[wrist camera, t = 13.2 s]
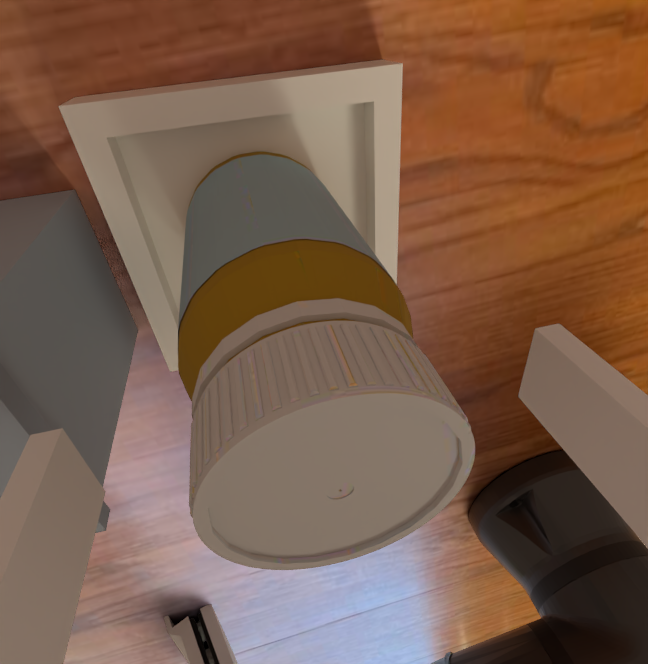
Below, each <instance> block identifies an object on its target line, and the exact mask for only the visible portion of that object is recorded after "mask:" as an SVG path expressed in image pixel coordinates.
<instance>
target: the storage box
mask: <svg viewBox="0 0 648 664" xmlns="http://www.w3.org/2000/svg"><path fill="white" fill-rule="evenodd" d="M137 333H138V329H137V327H136V325H135V323H134V320H133V318H132V316H131V314H130V311H129V309H128V307H127V305H126V302H125V300H124V298H123V296H122V294H121V291H120V289H119V287H118V285H117V282H116V280H115V278H114V276H113V273H112V271H111V269H110V267H109V265H108V262H107V260H106V258H105V256H104V253H103V251H102V249H101V247H100V244H99V242H98V240H97V238H96V236H95V233H94V231H93V229H92V227H91V224H90V222H89V220H88V218H87V215H86V213H85V211H84V209H83V207H82V204H81V202H80V200H79V198H78V195H77V193H76V191H75V190H69V191H62V192H55V193H48V194H42V195H35V196H28V197H22V198H15V199H8V200H1V201H0V498H1V496H2V494H3V492H4V490H5V488H6V485H7V483H8V481H9V479H10V477H11V475H12V473H13V471H14V469H15V466H16V464H17V462H18V460H19V458H20V456H21V454H22V452H23V450H24V448H25V445H26V443H27V441H28V439H29V437H30V435H32V434H37V433H42V432H47V431H51V430H56V429H61V428H63V430H64V431H65V433H66V434H67V436H68V437H69V439H70V440H71V441H72V443H73V444H74V446H75V447H76V449H77V450H78V452H79V453H80V455H81V456H82V458H83V459H84V461H85V462H86V464H87V465H88V467H89V468H90V469H91V471H92V472H93V474H94V475H95V477H96V478H97V480H98V481H99V483H100V484H101V486H102V487H103V483H104V479H105V474H106V470H107V465H108V461H109V457H110V452H111V448H112V443H113V439H114V435H115V430H116V426H117V421H118V417H119V412H120V408H121V404H122V399H123V395H124V390H125V386H126V381H127V377H128V373H129V368H130V364H131V359H132V355H133V351H134V346H135V342H136V337H137ZM109 512H110V509H109V507H108V506H107V505H106V503H105V502H104V501H103V504H102V508H101V512H100V516H99V520H98V524H97V528H96V532H95V533H98V532H102V531H106V527H107V522H108V517H109Z"/></svg>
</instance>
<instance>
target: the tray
mask: <svg viewBox="0 0 648 664" xmlns="http://www.w3.org/2000/svg"><path fill="white" fill-rule="evenodd" d="M402 69H403V63H398V62H393V61H388V60H383V59H382V60H374V61H366V62H358V63H349V64H341V65H333V66H325V67H317V68H309V69H300V70H292V71H284V72H276V73H268V74H260V75H251V76H243V77H235V78H227V79H219V80H211V81H202V82H194V83H186V84H178V85H170V86H162V87H153V88H145V89H137V90H129V91H121V92H113V93H104V94H96V95H88V96H80V97H74V98H72V99H71V100H69V101H67V102H65V103H63V104H61V105H60V106H58V107H59V109H60V112H61V114H62V116H63V119H64V121H65V123H66V126H67V128H68V131H69V133H70V135H71V138H72V140H73V142H74V145H75V147H76V150H77V152H78V154H79V157H80V159H81V161H82V164H83V166H84V169H85V171H86V173H87V176H88V178H89V180H90V183H91V185H92V188H93V190H94V192H95V195H96V197H97V199H98V202H99V204H100V207H101V209H102V211H103V214H104V216H105V218H106V221H107V223H108V226H109V228H110V230H111V233H112V235H113V237H114V240H115V242H116V245H117V247H118V249H119V252H120V254H121V256H122V259H123V261H124V264H125V266H126V268H127V271H128V273H129V275H130V278H131V280H132V282H133V285H134V287H135V290H136V292H137V294H138V297H139V299H140V301H141V304H142V306H143V309H144V311H145V313H146V316H147V318H148V320H149V323H150V325H151V328H152V330H153V332H154V335H155V337H156V339H157V342H158V344H159V347H160V349H161V351H162V354H163V356H164V358H165V361H166V363H167V366H168V368H169V370H170V372H172V371H177V370H179V369H178V325H179V311H180V297H181V283H182V269H183V255H184V242H185V228H186V216H187V211H188V207H189V203H190V201H191V198H192V196H193V193H194V191H195V189H196V187H197V185H198V184H199V182H200V181H201V180H202V179H203V178H204V177H205V176H206V175H207V174H208V172H209V171H210V170H211V169H212V168H214V167H215V166H216V165H218V164H220V163H222V162H224V161H226V160H227V159H229V158H231V157H233V156H236V155H239V154H245V153H251V152H257V151H264V152H270V153H276V154H282V155H285V156H288V157H290V158H292V159H294V160H296V161H297V162H299V163H301V164H303V165H305V166H306V167H307V168H309V169H310V170H311V171H312V173H313V174H314V175H315V176H316V177H317V178H318V179H319V180H320V181H321V182H322V183H323V184H324V186H325V187H326V188H327V190H328V191H329V192H330V194H331V195H332V196H333V198H334V199H335V201H336V202H337V203H338V205H339V206H340V207H341V209H342V210H343V211H344V213H345V214H346V216H347V217H348V218H349V220H350V221H351V222H352V224H353V225H354V226H355V228H356V229H357V231H358V232H359V233H360V235H361V236H362V237H363V239H364V240H365V242H366V243H367V244H368V246H369V247H370V248H371V250H372V251H373V252H374V254H375V255H376V257H377V258H378V259H379V261H380V262H381V263H382V265H383V266H384V267H385V269H386V270H387V272H388V273H389V274H390V276H391V277H392V279H393V280H394V282H395V283H396V285H397V256H398V219H399V182H400V144H401V107H402Z"/></svg>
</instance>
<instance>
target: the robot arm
mask: <svg viewBox="0 0 648 664" xmlns="http://www.w3.org/2000/svg"><path fill="white" fill-rule="evenodd" d="M518 397H519V398H520V399H521V401H522V402H523V403H524V404H525V405H526V406H527V408H528V409H529V410H530V411H531V412H532V413H533V415H534V416H535V417H536V418H537V419H538V420H539V422H540V423H541V424H542V425H543V426H544V427H545V429H546V430H547V431H548V432H549V433H550V434H551V436H552V437H553V438H554V439H555V440H556V441H557V443H558V444H559V445H560V446H561V447H562V448H563V450H564V451H558V452H553V453H549V454H545V455H542V456H539V457H536V458H534V459H531V460H529V461H526V462H524V463H522V464H520V465H518V466H516V467H514V468H513V469H511V470H509V471H508V472H506V473H504V474H503V475H501V476H500V477H499V478H497V479H496V480H495V481H493V482H492V483H491V484H490V485H489V486H487V487H486V488H485V489H484V490H483V491H482V492H481V493H480V495H479V496H478V497H477V498H476V500H475V501H474V503H473V505H472V507H471V509H470V512H469V521H470V524H471V526H472V528H473V529H474V531H475V533H476V535H477V537H478V539H479V540H480V542H481V543H482V544H483V546H484V547H485V548H486V549H487V550H488V551H489V552H490V553H491V554H492V555H493V556H494V557H495V558H496V559H497V560H498V561H499V562H500V563H501V564H502V565H503V566H504V568H505V569H506V570H507V571H508V572H509V573H510V574H511V575H512V576H513V577H514V578H515V579H516V580H517V581H518V582H519V583H520V584H521V585H522V586H523V588H524V589H525V590H526V592H527V593H528V595H529V597H530V598H531V600H532V602H533V604H534V605H535V607H536V609H537V611H538V613H539V614H540V616H541V619H539V620H536V621H534V622H531V623H529V624H526V625H524V626H521V627H519V628H516V629H514V630H511V631H509V632H506V633H504V634H501V635H499V636H496V637H494V638H491V639H489V640H486V641H484V642H481V643H479V644H476V645H473V646H471V647H468V648H466V649H463V650H461V651H458V652H456V653H452V652H448V653H446V655H445V657H444V658H442V659H439V660H437V661H435V662H433V663H431V664H648V549H647V548H648V395H646V394H645V393H644V392H643V391H642V390H640V389H639V388H638V387H637V386H635V385H634V384H633V383H632V382H630V381H629V380H628V379H627V378H626V377H624V376H623V375H622V374H621V373H619V372H618V371H617V370H616V369H615V368H613V367H612V366H611V365H610V364H608V363H607V362H606V361H605V360H603V359H602V358H601V357H600V356H599V355H597V354H596V353H595V352H594V351H592V350H591V349H590V348H589V347H588V346H586V345H585V344H584V343H583V342H581V341H580V340H579V339H578V338H576V337H575V336H574V335H573V334H572V333H570V332H569V331H568V330H567V329H565V328H564V327H563V326H562V325H560V324H554V325H549V326H544V327H540V328H535V331H534V335H533V339H532V343H531V347H530V351H529V355H528V359H527V363H526V367H525V371H524V375H523V378H522V382H521V386H520V390H519V394H518ZM104 496H105V490H104V489H103V487H102V486H101V484H100V483H99V481H98V480H97V478H96V477H95V475H94V474H93V472H92V471H91V469H90V468H89V467H88V465H87V464H86V462H85V461H84V459H83V458H82V456H81V455H80V453H79V452H78V450H77V449H76V447H75V446H74V444H73V443H72V441H71V440H70V439H69V437H68V436H67V434H66V433H65V431H64V430H63V428H61V429H56V430H51V431H47V432H42V433H37V434H32V435H30V437H29V439H28V441H27V443H26V445H25V448H24V450H23V452H22V454H21V456H20V458H19V460H18V462H17V464H16V466H15V469H14V471H13V473H12V475H11V477H10V479H9V481H8V483H7V485H6V488H5V490H4V492H3V494H2V496H1V498H0V664H63V662H64V658H65V654H66V650H67V646H68V642H69V638H70V634H71V630H72V626H73V622H74V617H75V613H76V609H77V605H78V601H79V597H80V593H81V589H82V585H83V581H84V577H85V573H86V569H87V565H88V561H89V557H90V553H91V549H92V544H93V540H94V536H95V532H96V528H97V524H98V520H99V516H100V512H101V508H102V504H103V500H104ZM639 538H640V539H641V540H640V539H639ZM643 543H644V544H645V545H646V546H647V548H646V546H645V545H644V544H643Z"/></svg>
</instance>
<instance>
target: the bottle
mask: <svg viewBox="0 0 648 664" xmlns="http://www.w3.org/2000/svg"><path fill="white" fill-rule="evenodd" d="M178 369H179V374H180V377H181V379H182V382H183V384H184V386H185V388H186V391H187V393H188V395H189V397H190V399H191V401H192V418H193V422H192V425H191V450H190V492H189V506H190V514H191V516H192V518H193V523H194V526H195V529H196V532H197V534H198V536H199V537H200V539H201V540H202V541H203V543H204V544H205V545H206V546H207V547H208V548H209V549H210V550H212V551H213V552H214V553H216V554H217V555H219V556H221V557H223V558H225V559H227V560H229V561H232V562H234V563H237V564H241V565H244V566H249V567H254V568H260V569H271V570H294V569H306V568H314V567H320V566H326V565H331V564H335V563H339V562H343V561H347V560H350V559H354V558H357V557H360V556H363V555H366V554H368V553H371V552H374V551H376V550H378V549H381V548H383V547H385V546H387V545H390V544H392V543H394V542H396V541H398V540H399V539H401V538H403V537H405V536H407V535H408V534H410V533H412V532H413V531H415V530H416V529H418V528H420V527H421V526H422V525H424V524H425V523H427V522H428V521H429V520H431V519H432V518H433V517H434V516H436V515H437V514H438V513H439V512H440V511H441V510H442V509H444V508H445V507H446V506H447V505H448V504H449V503H450V501H451V500H452V499H453V498H454V497H455V496H456V495H457V493H458V492H459V491H460V489H461V488H462V486H463V485H464V483H465V482H466V480H467V478H468V476H469V474H470V472H471V469H472V466H473V463H474V458H475V441H474V437H473V434H472V431H471V426H470V424H469V423H468V419H467V417H466V415H465V414H464V412H463V411H462V409H461V408H460V406H459V405H458V403H457V402H456V400H455V399H454V397H453V396H452V394H451V392H450V391H449V389H448V388H447V386H446V385H445V383H444V382H443V380H442V379H441V377H440V376H439V374H438V373H437V371H436V370H435V368H434V367H433V365H432V364H431V362H430V361H429V359H428V358H427V356H426V355H425V354H423V353H422V351H421V350H420V348H418V346H417V345H416V343H415V342H414V340H413V333H412V324H411V317H410V313H409V310H408V308H407V305H406V302H405V299H404V297H403V295H402V293H401V291H400V290H399V288H398V287H397V285H396V283H395V282H394V280H393V279H392V277H391V276H390V274H389V273H388V272H387V270H386V269H385V267H384V266H383V265H382V263H381V262H380V261H379V259H378V258H377V257H376V255H375V254H374V252H373V251H372V250H371V248H370V247H369V246H368V244H367V243H366V242H365V240H364V239H363V237H362V236H361V235H360V233H359V232H358V231H357V229H356V228H355V226H354V225H353V224H352V222H351V221H350V220H349V218H348V217H347V216H346V214H345V213H344V211H343V210H342V209H341V207H340V206H339V205H338V203H337V202H336V201H335V199H334V198H333V196H332V195H331V194H330V192H329V191H328V190H327V188H326V187H325V186H324V184H323V183H322V182H321V181H320V180H319V179H318V178H317V177H316V176H315V175H314V174H313V173H312V171H311V170H310V169H309V168H307V167H306V166H305V165H303V164H301V163H299V162H297V161H296V160H294V159H292V158H290V157H288V156H285V155H282V154H276V153H270V152H264V151H257V152H251V153H245V154H239V155H236V156H233V157H231V158H229V159H227V160H226V161H224V162H222V163H220V164H218V165H216V166H215V167H214V168H212V169H211V170H210V171H209V172H208V174H207V175H206V176H205V177H204V178H203V179H202V180H201V181H200V182H199V184H198V185H197V187H196V189H195V191H194V193H193V196H192V198H191V201H190V203H189V207H188V211H187V216H186V228H185V242H184V255H183V269H182V283H181V297H180V311H179V325H178Z"/></svg>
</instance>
